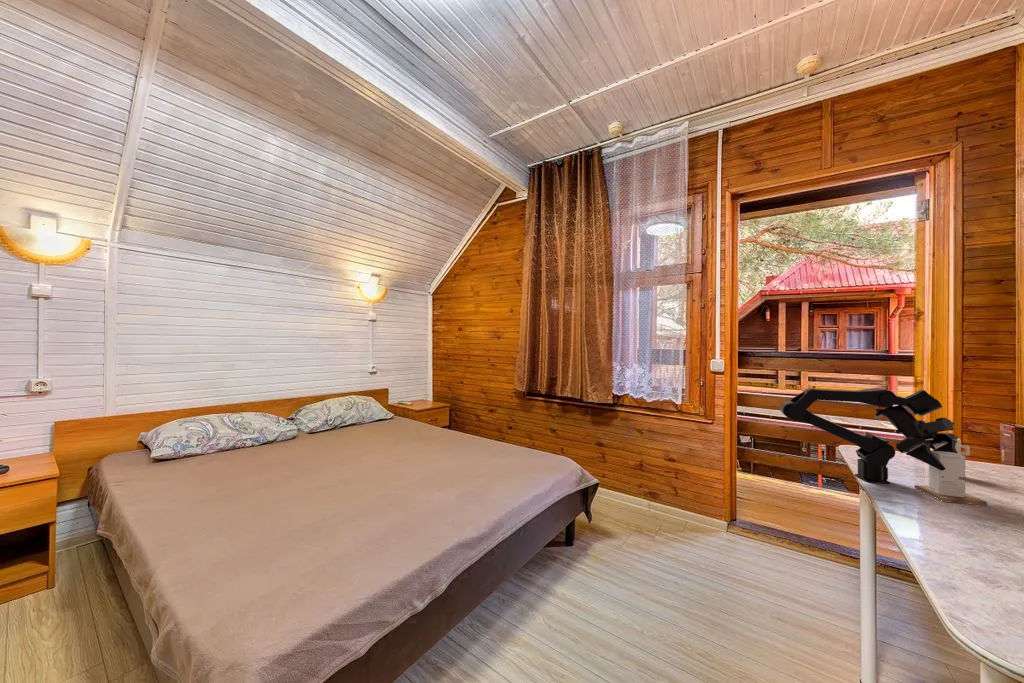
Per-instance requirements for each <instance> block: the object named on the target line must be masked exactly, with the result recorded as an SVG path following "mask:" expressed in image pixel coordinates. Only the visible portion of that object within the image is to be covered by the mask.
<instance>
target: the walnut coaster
mask: <svg viewBox="0 0 1024 683" xmlns="http://www.w3.org/2000/svg"><path fill="white" fill-rule="evenodd" d="M915 488H916V489H915ZM914 489H915V490H917V489H918V490H917V491H919V490H921V491H923V492H925V493H927V494H929V495H928V496H930V495H931V496H930V497H932V496H933V497H932V498H934V497H936V498H938V499H940V500H942V501H951V502H950V503H953V502H959V503H958V504H965V503H971V504H970V505H977V504H981V505H980V506H988V503H987V501H985V500H984V499H981V498H979V497H977V496H974V495H972V494H969V493H967V492H965V497H956V496H947V495H939V494H936V493H934V492H932V491H931V490H929V485H917V484H914ZM921 491H920V492H921ZM923 492H922V493H923ZM925 493H924V494H925ZM927 494H926V495H927ZM936 498H935V499H936ZM938 499H937V500H938ZM940 500H939V501H940ZM942 501H941V502H942Z"/></svg>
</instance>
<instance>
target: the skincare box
mask: <svg viewBox="0 0 1024 683" xmlns="http://www.w3.org/2000/svg"><path fill="white" fill-rule="evenodd" d="M931 452H932V453H933V454H934V455H935V457H936V458H937V459H938V460H939V461H940V462H941V463H942V465H943V466H944V467H945V468H946V469H945V470H943V471H941V470H939V469H937V468H935V467H933V466H931V465H929V464H928V486H929V490H931V491H932V492H934V493H936V494H939V495H947V496H956V497H965V493H966V466H965V465H966V455H960V454H957V453H953V452H943V451H931Z"/></svg>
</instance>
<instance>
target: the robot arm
mask: <svg viewBox="0 0 1024 683" xmlns="http://www.w3.org/2000/svg"><path fill="white" fill-rule="evenodd" d="M816 401H827V402H828V401H830V402H848V403H861V404H865V405H871V406H874V407H875V406H876V407H881V408H882V409H880V408H876V409H875V419H877V420H880V419H881V418H883V417H884V418H885V419H886V420H887V421H888V422H889V423H890V424H891V425H893V427H895V429H896V430H895V432H896V434H902V436H904V437H905V438H904V439H902V440H900V441H899V442H896V443H895V444H896V445H895V446H896V450H898V452H900V454H905V455H906V456H910V457H912V458H914V459H916V460H918V461H921V462H923V463H925V464H927V465H928V466H929V465H931V466H933V467H935V468H937V469H939V470H941V471H943V470H945V469H946V468H945V467H944V466H943V465H942V463H941V462H940V461H939V460H938V459H937V458H936V457H935V455H934V454H933V453H932V452H931V450H930V448H932V449H935V450H933V451H943V452H953V453H957V454H958V452H957V451H956V449H955V446H956V443H957V440H958V437H957V436H956V435H954V433H952V432H951V433H950V432H947V431H955V430H956V429H955V428H954V425H955V422H953V421H952V420H951V419H949V418H947V417H945V416H944V417H937V418H935V420H933V421H929V422H928V421H927V422H925V421H924V420H922V419H921V420H920V419H919V420H918V419H917V418H916V417H915V416H916V415H918V416H919V417H923V416H925V415H927V414H931V413H932V412H935V411H938V410H940V409H942V408H943V406H942V404H941V402H940V401H939V400H938V399H937V398H935V397H934V396H932V395H931V394H929V393H928V392H927V391H926V390H924V389H919V390H917V391H915V392H914V393H912V394H910V395H907V396H904V397H903V396H899V395H896V394H895V393H894V392H893V391H892V390H888V389H885V388H880V387H874V388H873V387H872V388H865V389H864V388H863V389H858V390H849V389H825V388H822V389H821V388H814V387H813V388H812V387H808V388H805V389H804V390H802V392H801V393H799V394H796V396H794V397H792V398H791V399H789V400H785V401H783V402H782V403H780V406H779V409H780V412H781V413H782V414H783V415H784V416H785V417H786V418H787V419H789V420H793V421H797V422H801V423H804V424H809V425H812V426H814V427H816V428H817V429H820V430H822V431H824V432H827V433H829V434H831V435H833V436H836V437H838V438H841V439H843V440H845V441H847V442H849V443H852V444H854V445H855V446H858V447H859V448H858V449H856V450H855V452H856V455H857V457H858V458H857V473H854V476H855V477H857V478H859V479H861V480H862V481H864V480H865V481H864V482H866V481H867V482H868V483H877V484H878V483H879V484H891V482H890V481H889V467H887V466H888V464H889V462H890V460H891V459H893V458H894V457H895V456H896V450H895V447H894V446H893V445H891V444H889V443H890V441H888V440H886V439H885V438H882V437H881V436H876V435H874V434H872V433H871V432H869V431H865V433H864V434H863V433H859V432H855V431H854V430H851V429H849V428H847V427H844V426H842V425H840V424H837V423H835V422H833V421H831V420H828V419H826V418H823V417H821V416H819V415H817V414H814V413H812V412H811V411H809V410H807V409H809V407H811V405H813V403H815V402H816ZM913 415H914V416H913ZM939 432H940V433H939ZM933 436H934V437H933ZM965 467H966V464H965Z"/></svg>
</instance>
